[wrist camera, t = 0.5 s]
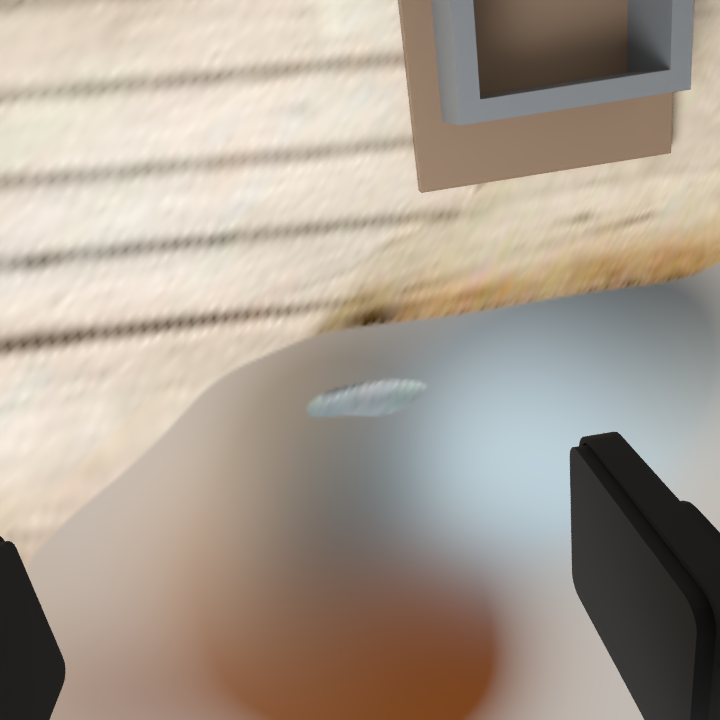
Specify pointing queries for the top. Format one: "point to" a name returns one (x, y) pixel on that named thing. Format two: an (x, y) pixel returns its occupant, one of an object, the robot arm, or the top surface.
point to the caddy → (540, 84)
